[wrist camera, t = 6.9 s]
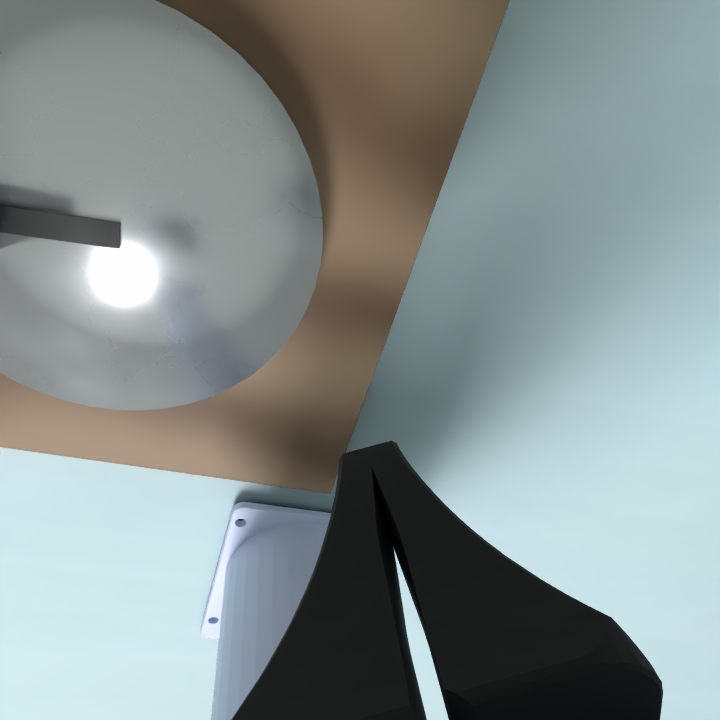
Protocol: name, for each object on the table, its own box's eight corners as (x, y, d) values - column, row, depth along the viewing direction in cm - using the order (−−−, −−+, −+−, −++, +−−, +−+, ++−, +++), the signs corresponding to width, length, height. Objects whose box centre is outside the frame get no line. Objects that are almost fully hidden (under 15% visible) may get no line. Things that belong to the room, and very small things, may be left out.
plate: (327, 476, 25) (330, 496, 24) (-180, 400, 20) (-208, 420, 19) (497, -2, 17) (513, -8, 16) (-286, -341, 12) (-347, -387, 11)
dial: (352, 45, 16) (375, 37, 12) (292, 407, 22) (296, 474, 18) (-156, -76, 13) (-319, -131, 10) (-72, 375, 19) (-154, 447, 15)
